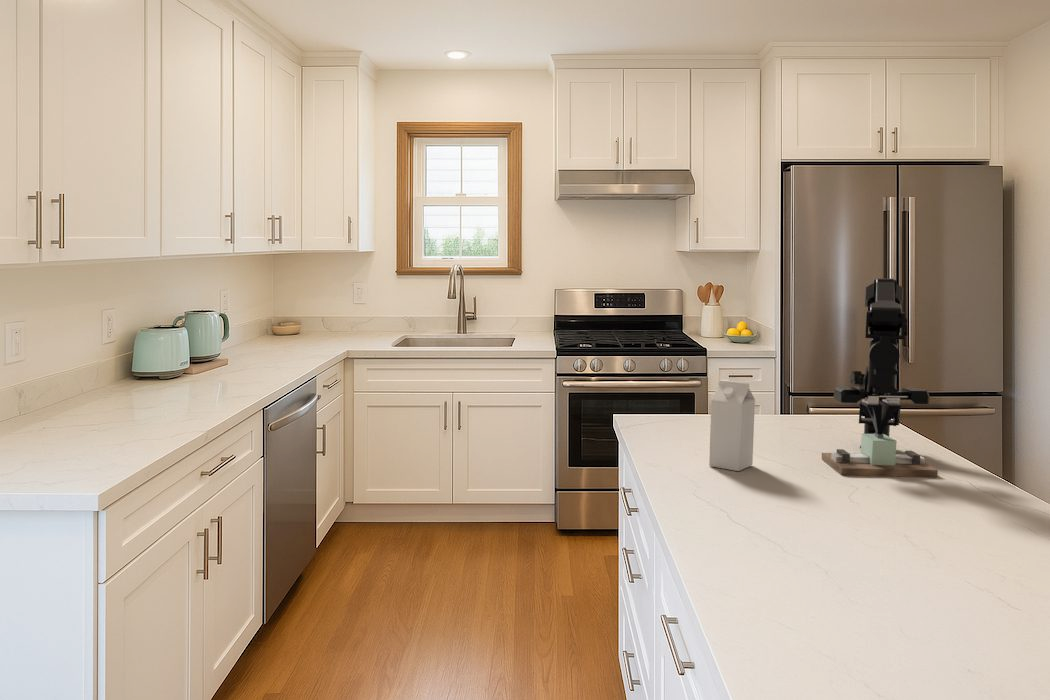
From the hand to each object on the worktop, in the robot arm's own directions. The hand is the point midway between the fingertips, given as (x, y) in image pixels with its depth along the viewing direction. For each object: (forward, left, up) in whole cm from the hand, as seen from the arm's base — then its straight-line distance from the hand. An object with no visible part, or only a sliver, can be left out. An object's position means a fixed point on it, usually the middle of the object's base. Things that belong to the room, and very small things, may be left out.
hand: (878, 433), depth 178 cm
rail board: (0, 0, -8) cm, 8 cm away
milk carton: (+16, -28, -8) cm, 33 cm away
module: (0, 0, -6) cm, 6 cm away
